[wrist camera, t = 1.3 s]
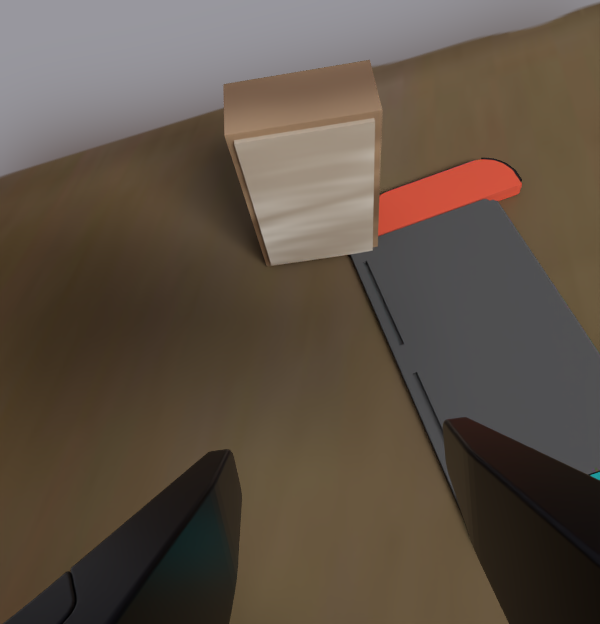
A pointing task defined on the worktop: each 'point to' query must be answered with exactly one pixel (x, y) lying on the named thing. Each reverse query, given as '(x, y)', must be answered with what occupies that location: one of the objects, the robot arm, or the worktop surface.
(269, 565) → the worktop surface
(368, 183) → the tan wooden block
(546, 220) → the worktop surface
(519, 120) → the worktop surface
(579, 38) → the worktop surface
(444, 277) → the gaming console
